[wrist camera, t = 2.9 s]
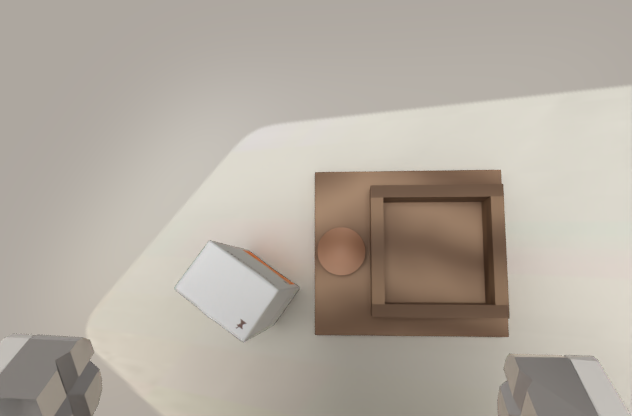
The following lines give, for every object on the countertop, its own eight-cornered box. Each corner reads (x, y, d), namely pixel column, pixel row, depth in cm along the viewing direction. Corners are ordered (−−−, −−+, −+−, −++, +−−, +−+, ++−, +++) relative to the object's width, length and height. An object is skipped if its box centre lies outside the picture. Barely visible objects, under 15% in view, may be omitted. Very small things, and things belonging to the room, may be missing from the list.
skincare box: (301, 286, 44) (282, 291, 32) (273, 326, 44) (243, 346, 32) (246, 247, 45) (208, 237, 33) (218, 286, 45) (170, 290, 33)
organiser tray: (504, 335, 43) (520, 341, 38) (316, 333, 44) (312, 339, 40) (496, 172, 44) (511, 162, 40) (316, 175, 46) (312, 165, 41)
